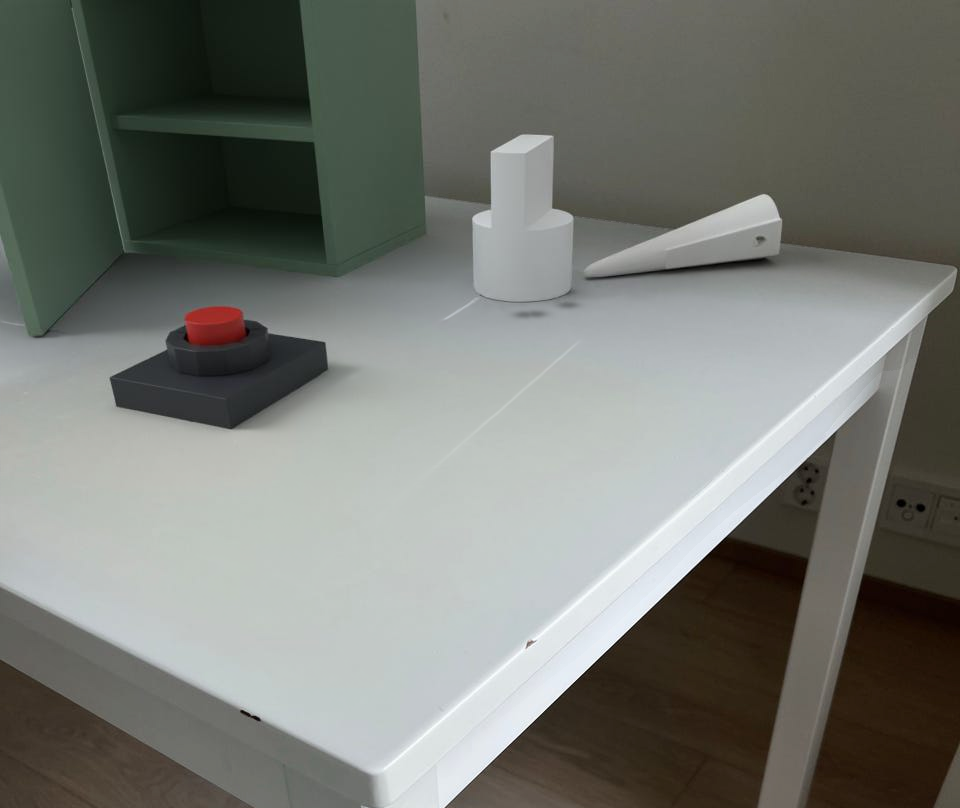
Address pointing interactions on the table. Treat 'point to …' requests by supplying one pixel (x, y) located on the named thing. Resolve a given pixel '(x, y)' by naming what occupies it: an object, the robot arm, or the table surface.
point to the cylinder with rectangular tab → (522, 227)
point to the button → (215, 325)
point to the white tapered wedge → (703, 242)
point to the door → (50, 164)
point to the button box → (220, 376)
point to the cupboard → (259, 127)
